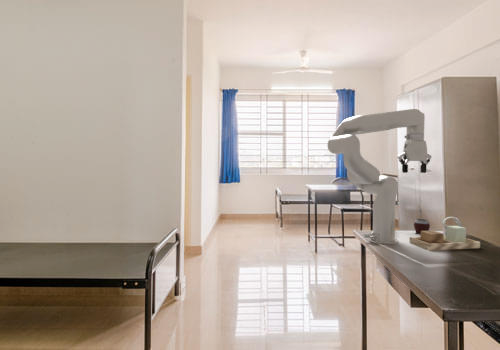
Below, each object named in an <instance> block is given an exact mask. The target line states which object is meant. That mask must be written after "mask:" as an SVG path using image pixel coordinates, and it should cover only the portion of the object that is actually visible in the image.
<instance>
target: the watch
mask: <svg viewBox="0 0 500 350" xmlns="http://www.w3.org/2000/svg"><path fill="white" fill-rule="evenodd" d="M449 219H453V220H454V223H455V224H456V226H460V227H464V226H463V224H462V222H461V220H460V219H459V218H458V217H455V216H447V217H445V218H444V219H443V221H442V226H443V228H444V230H446V226H447V225H446V221H448V220H449Z"/></svg>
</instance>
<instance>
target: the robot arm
mask: <svg viewBox="0 0 500 350" xmlns="http://www.w3.org/2000/svg"><path fill="white" fill-rule="evenodd" d="M425 121H426V119H425V113H423V112H422V111H420V109H417V108H411V109H410V108H409V109H402V110H395V111H394V110H393V111H384V112H377V113H369V114H360V115H355V116H351V117H348V118H346V119H343V121H342V122H341V123H340V124H339V125H338V126H337V128H335V130H334V131H333V133H332V135H331V136H330V137H329V139H328V141H327V145H326V146H327V150H328V151H329V153H331V154H334V155H341V154H342V155H343V156H342V157H343V165H344V167H345V169H346V177H347V179H348V181H349V182H350V183H351V184H353V185H354V186H355V187H357V188H358V189H360V190H361V191H362V192H365V194H369V195H375V199H374V201H373V204H372V231H370V232H369V233H363V234H362V237H363V238H364V239H367V238H368V240H369V242H371V243H373V244H376V245H377V244H378V245H383V246H384V244H387V245H388V244H390V245H391V244H398V243H399V240H398V239H397V238H395V237H396V236H395V235H396V232H395V231H396V201H397V195H398V191H399V184H398V181H397V179H396V178H395V177H393V176H390V175H381V173H380V171H379V169H378V167H376V166H375V165H374V164H372V163H370V162H369V161H368V160H366V159H365V158H364V157H363V156H362V154H361V142H360V139H359V138H358V136H357V135H364V134H369V133H378V132H383V131H384V132H385V131H390V130H393V129H398V128H400V129H401V128H406V135H404V138H405V141H404V146H403V151H402V153H399V154H398V155H397V159H398V162H399V163H400V164H401V170H402V171H401V172H402V174H403V173H406V174H407V173H409V164H408V163H409V162H419V163H420V173H421V174H422V173H423V174H426V173H427V166H428V164H429V163H430V161H431V160H432V154H431V155H430V154H429V153H428V145H427V142H426V140H425Z"/></svg>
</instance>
